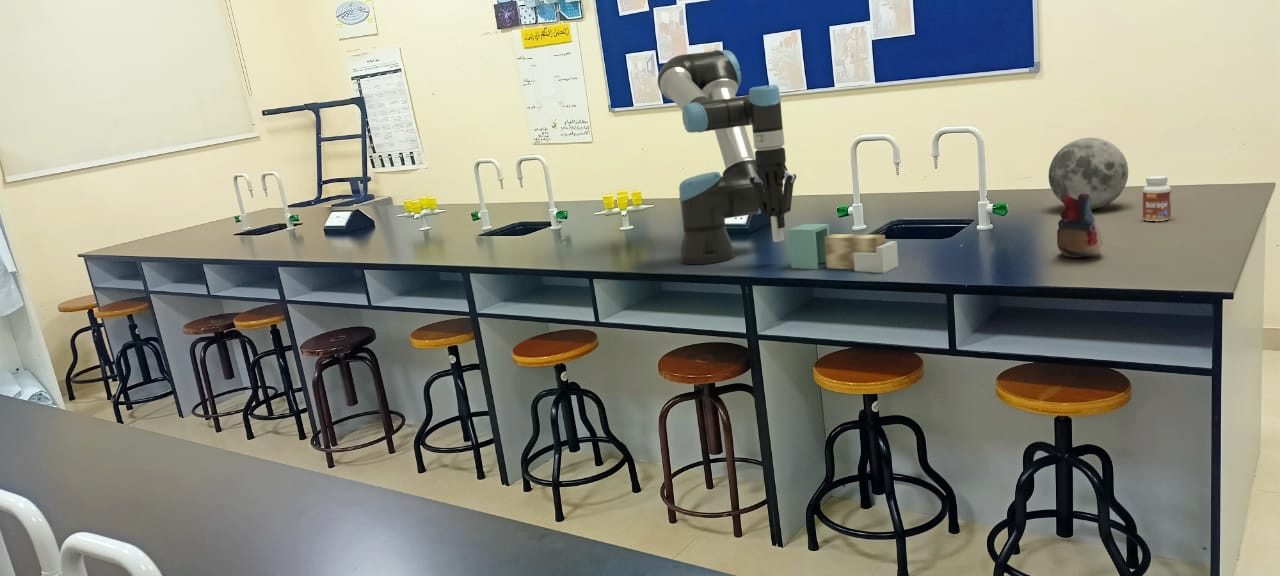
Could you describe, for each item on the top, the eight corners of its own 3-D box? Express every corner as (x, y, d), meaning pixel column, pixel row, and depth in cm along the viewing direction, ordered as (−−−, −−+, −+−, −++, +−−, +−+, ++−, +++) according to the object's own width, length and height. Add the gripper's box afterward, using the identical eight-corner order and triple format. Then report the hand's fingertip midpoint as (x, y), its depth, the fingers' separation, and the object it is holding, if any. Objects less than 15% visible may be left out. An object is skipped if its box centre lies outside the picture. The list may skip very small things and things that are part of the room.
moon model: (1070, 202, 272) (1068, 134, 268) (1141, 203, 256) (1140, 132, 252) (1036, 214, 260) (1033, 144, 256) (1108, 216, 244) (1107, 141, 240)
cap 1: (791, 268, 230) (787, 229, 228) (807, 261, 235) (803, 223, 233) (816, 269, 225) (813, 229, 223) (831, 262, 230) (828, 224, 228)
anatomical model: (1105, 250, 208) (1104, 184, 204) (1100, 263, 197) (1099, 193, 194) (1060, 251, 212) (1058, 187, 209) (1053, 263, 202) (1051, 196, 199)
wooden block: (826, 269, 225) (824, 237, 223) (835, 265, 228) (832, 234, 226) (878, 271, 216) (876, 238, 214) (887, 268, 218) (884, 235, 217)
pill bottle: (1142, 223, 232) (1142, 179, 229) (1142, 218, 237) (1142, 175, 234) (1171, 222, 229) (1171, 177, 226) (1170, 217, 234) (1170, 174, 231)
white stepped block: (854, 271, 218) (852, 246, 217) (869, 264, 223) (868, 240, 222) (883, 273, 213) (881, 247, 212) (898, 266, 218) (896, 241, 217)
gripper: (739, 151, 232) (749, 243, 236) (783, 148, 223) (792, 243, 228) (756, 148, 237) (765, 237, 242) (799, 144, 228) (808, 238, 233)
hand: (778, 240), depth 235 cm, fingers closed
